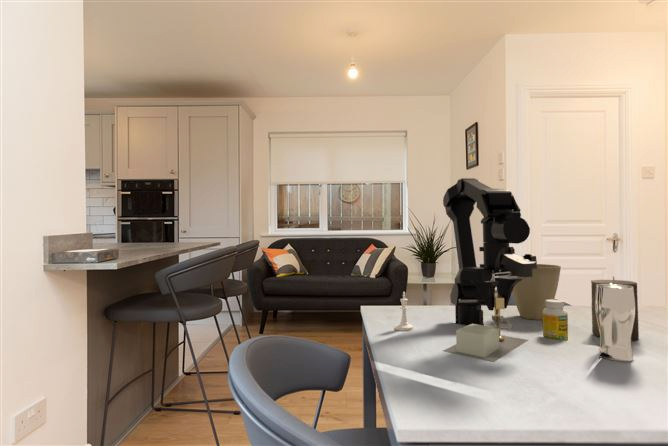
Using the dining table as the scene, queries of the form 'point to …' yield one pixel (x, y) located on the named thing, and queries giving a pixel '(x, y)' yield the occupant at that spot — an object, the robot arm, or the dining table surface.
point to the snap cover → (477, 340)
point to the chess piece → (404, 317)
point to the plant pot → (536, 291)
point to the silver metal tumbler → (615, 320)
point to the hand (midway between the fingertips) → (497, 309)
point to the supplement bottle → (555, 320)
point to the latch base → (504, 348)
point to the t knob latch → (499, 320)
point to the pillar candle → (594, 319)
